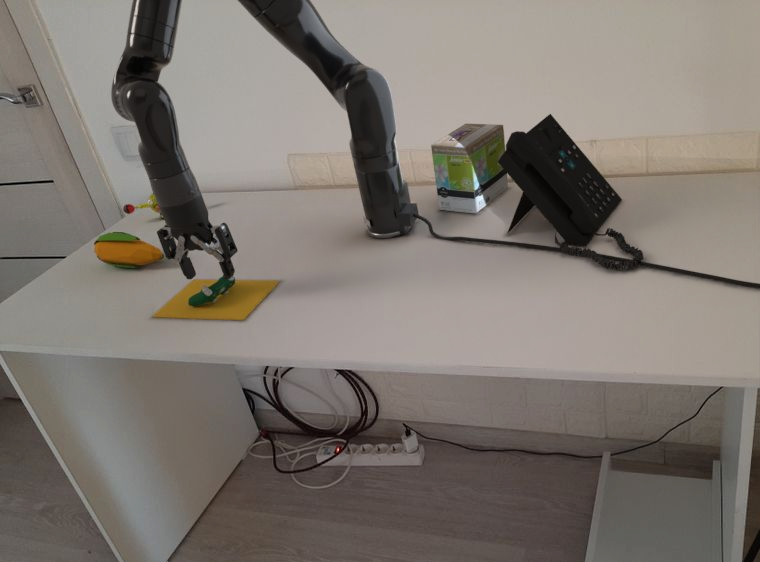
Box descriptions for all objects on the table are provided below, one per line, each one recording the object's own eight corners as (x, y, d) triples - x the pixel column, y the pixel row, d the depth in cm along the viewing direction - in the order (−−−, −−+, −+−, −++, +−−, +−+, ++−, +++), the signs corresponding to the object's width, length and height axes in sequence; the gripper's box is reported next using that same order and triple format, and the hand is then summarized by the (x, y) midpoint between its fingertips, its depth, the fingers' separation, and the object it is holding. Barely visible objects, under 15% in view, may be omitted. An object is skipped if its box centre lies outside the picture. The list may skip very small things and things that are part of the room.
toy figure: (128, 230, 172) (117, 204, 168) (131, 222, 176) (120, 197, 172) (200, 213, 174) (191, 187, 170) (201, 205, 178) (192, 180, 175)
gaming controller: (199, 317, 130) (207, 301, 126) (185, 302, 130) (192, 286, 126) (234, 293, 136) (242, 278, 132) (220, 280, 136) (228, 263, 132)
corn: (103, 223, 155) (166, 228, 146) (118, 252, 160) (181, 259, 151) (78, 239, 150) (142, 246, 141) (94, 269, 155) (157, 277, 146)
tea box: (478, 214, 146) (470, 146, 138) (438, 211, 151) (428, 144, 143) (510, 187, 156) (503, 122, 148) (471, 184, 161) (463, 121, 153)
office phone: (635, 275, 116) (636, 158, 104) (484, 258, 129) (471, 153, 118) (678, 205, 135) (683, 100, 124) (544, 196, 149) (537, 101, 138)
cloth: (279, 282, 134) (279, 280, 134) (243, 320, 123) (243, 319, 123) (194, 281, 141) (193, 279, 141) (152, 317, 130) (152, 316, 130)
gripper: (224, 185, 121) (252, 267, 130) (158, 189, 125) (190, 267, 134) (201, 203, 115) (232, 287, 124) (132, 206, 120) (168, 287, 129)
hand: (210, 277), depth 129 cm, fingers open, 8 cm apart
